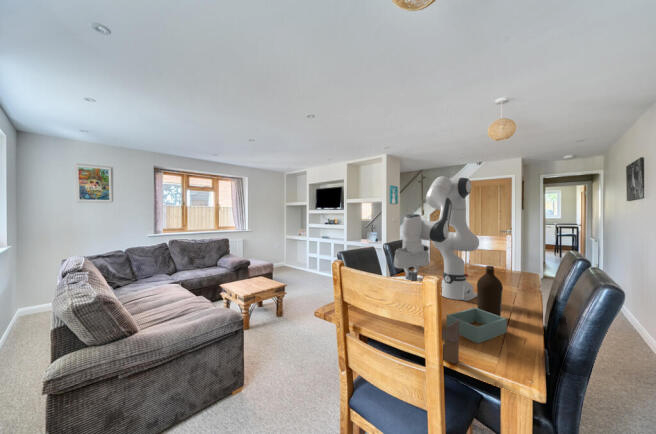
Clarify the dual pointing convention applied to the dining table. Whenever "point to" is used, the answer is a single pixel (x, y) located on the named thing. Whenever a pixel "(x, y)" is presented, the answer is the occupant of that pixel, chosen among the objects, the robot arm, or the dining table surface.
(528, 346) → the dining table surface
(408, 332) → the dining table surface
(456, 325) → the wooden block
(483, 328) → the open box
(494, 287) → the olive oil
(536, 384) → the dining table surface
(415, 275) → the lid
